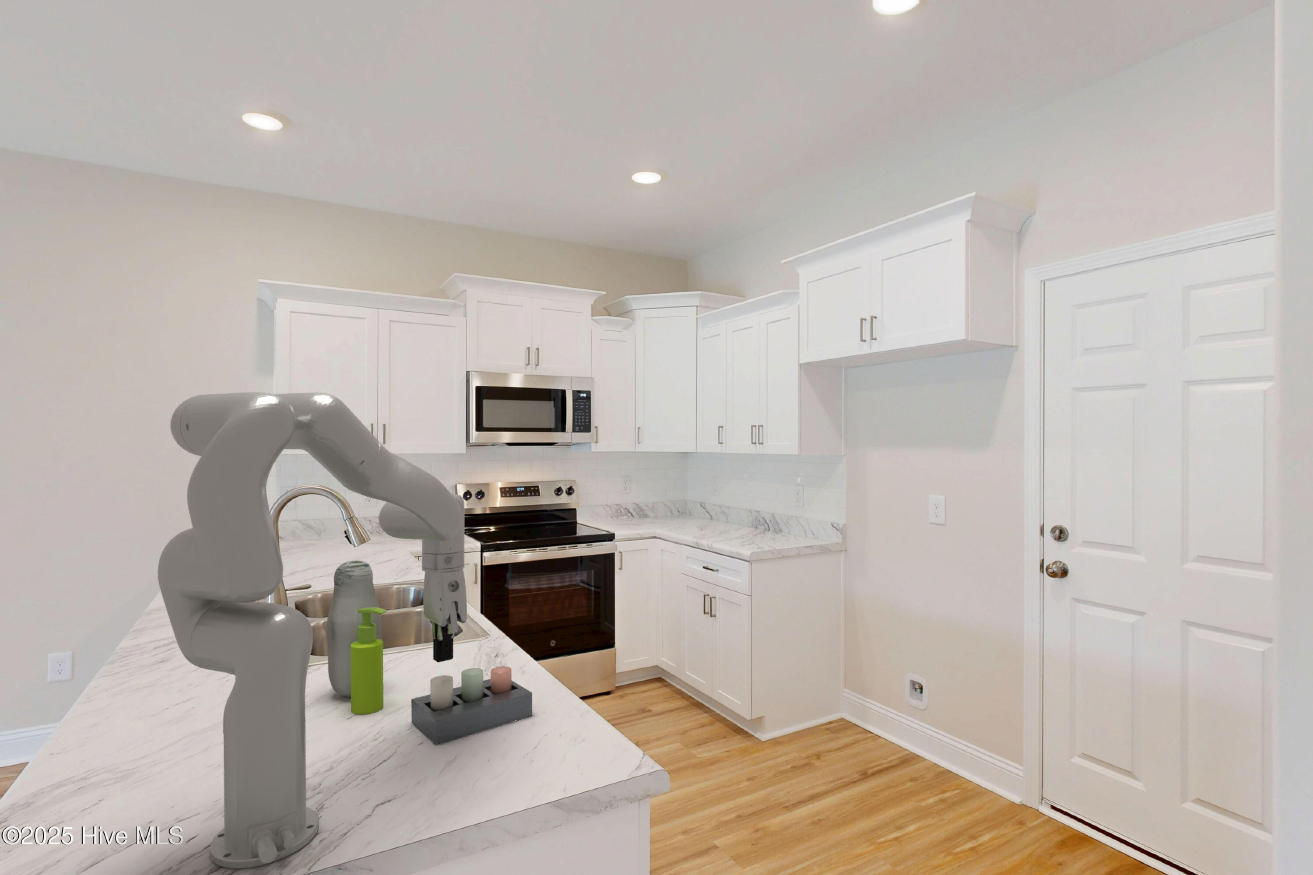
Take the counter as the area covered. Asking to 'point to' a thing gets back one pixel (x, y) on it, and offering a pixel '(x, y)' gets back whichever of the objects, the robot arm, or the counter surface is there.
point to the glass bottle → (348, 619)
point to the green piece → (472, 684)
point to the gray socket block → (470, 713)
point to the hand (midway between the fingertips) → (443, 659)
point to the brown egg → (501, 680)
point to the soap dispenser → (367, 666)
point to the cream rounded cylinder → (441, 692)
